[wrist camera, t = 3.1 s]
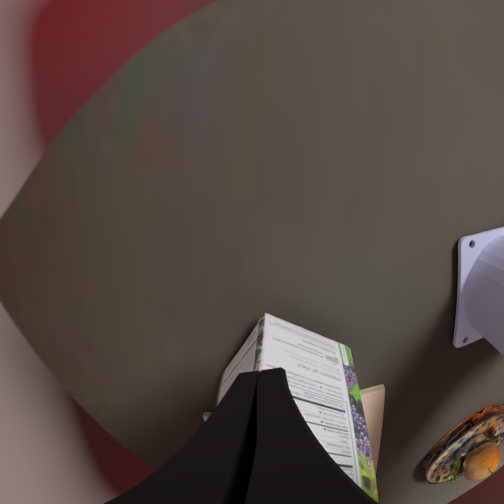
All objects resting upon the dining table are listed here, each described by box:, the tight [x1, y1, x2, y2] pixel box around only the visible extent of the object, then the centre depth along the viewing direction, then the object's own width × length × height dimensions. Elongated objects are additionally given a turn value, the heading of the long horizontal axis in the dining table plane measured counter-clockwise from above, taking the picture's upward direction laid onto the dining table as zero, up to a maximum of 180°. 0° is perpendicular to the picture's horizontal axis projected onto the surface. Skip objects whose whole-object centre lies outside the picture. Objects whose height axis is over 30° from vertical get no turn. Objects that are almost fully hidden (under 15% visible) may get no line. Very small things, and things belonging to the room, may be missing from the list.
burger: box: [421, 405, 504, 484], centre depth 16 cm, size 12×12×8 cm
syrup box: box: [214, 313, 379, 503], centre depth 10 cm, size 6×6×14 cm
